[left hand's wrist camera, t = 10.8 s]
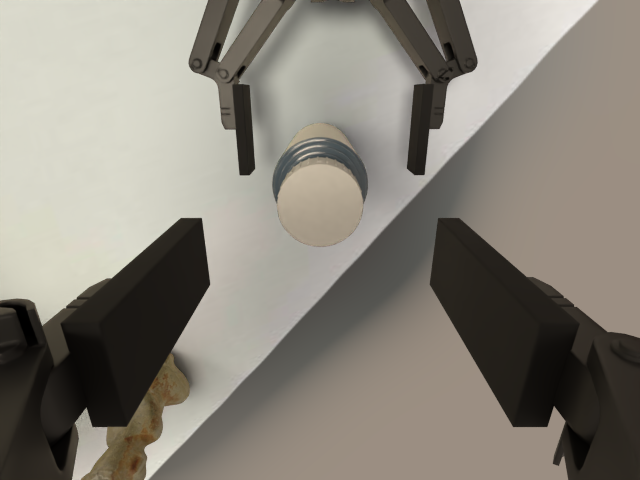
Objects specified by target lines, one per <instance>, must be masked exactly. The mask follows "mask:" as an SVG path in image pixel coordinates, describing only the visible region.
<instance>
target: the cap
mask: <svg viewBox="0 0 640 480" xmlns="http://www.w3.org/2000/svg"><path fill="white" fill-rule="evenodd" d="M280 188H281V189H280V191H279V193H278V196H277V197H278V201H277V209H278V215H279V218H280V221H281V223H282V225H283V227H284V228H285V230H286V231H287V232H288V233H289V234H290V235H291V236H292V237H293V238H295V239H296V240H298V241H299V242H302V243H304V244H307V245H310V246H317V247H324V246H330V245H334V244H337V243H339V242H341V241H343V240H344V239H346V238H347V237H348V236H349V235H351V234H352V233H353V231H354V230H355V229H356V227H357V226H358V224H359V222H360V219H361V216H362V212H363V198H362V194H361V192H362V191H361V188H360V186H359V184H358V182H357V179H356V177H355V176H353V174H352V172H351V170H350V169H348V168H347V167H346V166H344V164H341V163H340V162H338V161H336V159H335V160H333V159H329V158H328V157H326V158H323V157H317V158H311V159H310V158H308V160H305V161H303V162H300V163H299V164H298V165H296V166H295V167H294V166H293V168H292V170H291V171H290V172H289V173H287V175H286V177H285V179H284V180H283V182H282V184H281V186H280Z"/></svg>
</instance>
